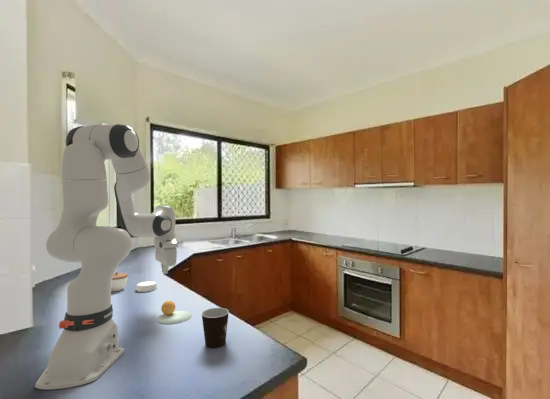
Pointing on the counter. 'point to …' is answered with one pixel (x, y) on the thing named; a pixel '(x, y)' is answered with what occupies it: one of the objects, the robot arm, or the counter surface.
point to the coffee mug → (215, 326)
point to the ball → (168, 307)
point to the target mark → (174, 317)
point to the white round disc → (146, 286)
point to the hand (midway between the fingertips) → (165, 273)
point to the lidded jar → (119, 281)
